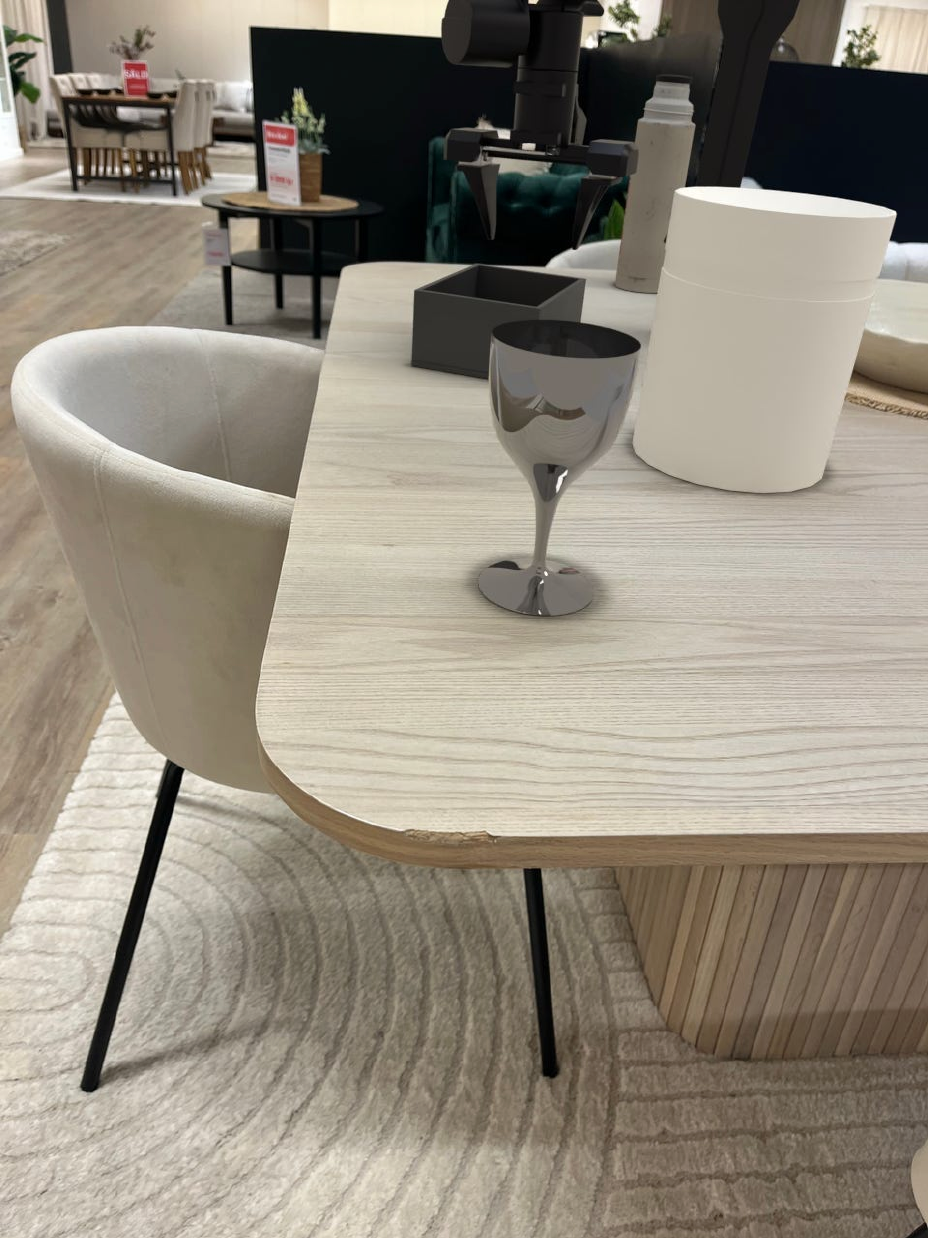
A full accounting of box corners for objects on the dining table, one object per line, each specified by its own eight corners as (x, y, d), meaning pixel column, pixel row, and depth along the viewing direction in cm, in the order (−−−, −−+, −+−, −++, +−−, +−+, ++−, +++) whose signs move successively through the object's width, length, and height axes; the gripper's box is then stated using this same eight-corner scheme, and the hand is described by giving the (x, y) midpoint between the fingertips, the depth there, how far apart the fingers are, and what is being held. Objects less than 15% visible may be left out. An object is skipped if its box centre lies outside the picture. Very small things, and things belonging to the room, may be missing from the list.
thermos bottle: (605, 286, 140) (635, 71, 125) (629, 279, 146) (660, 73, 131) (653, 295, 136) (689, 75, 122) (675, 288, 142) (712, 77, 127)
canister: (800, 510, 70) (879, 224, 59) (603, 460, 76) (644, 194, 66) (840, 451, 82) (910, 206, 72) (667, 412, 88) (710, 182, 78)
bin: (471, 329, 111) (475, 263, 107) (577, 346, 107) (586, 278, 103) (411, 365, 96) (413, 289, 92) (532, 386, 92) (540, 308, 89)
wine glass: (466, 555, 59) (483, 316, 52) (587, 557, 60) (622, 322, 53) (478, 618, 53) (500, 354, 45) (614, 620, 54) (659, 361, 46)
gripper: (660, 77, 92) (636, 243, 100) (484, 65, 97) (475, 224, 105) (637, 76, 83) (613, 259, 91) (445, 63, 88) (438, 237, 96)
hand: (532, 244), depth 96 cm, fingers open, 9 cm apart
